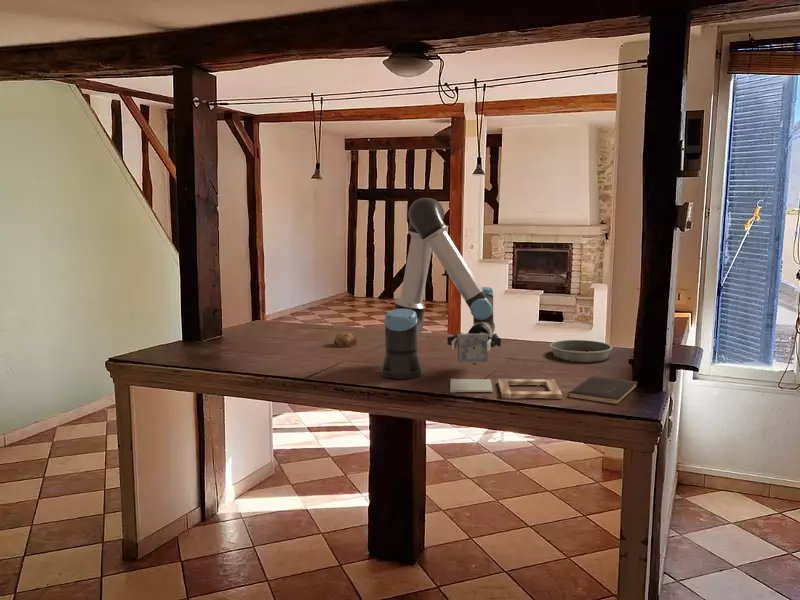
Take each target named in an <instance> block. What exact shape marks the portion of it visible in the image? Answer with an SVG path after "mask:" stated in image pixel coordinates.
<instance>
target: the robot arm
mask: <svg viewBox="0 0 800 600" xmlns="http://www.w3.org/2000/svg"><path fill="white" fill-rule="evenodd" d="M407 217H408V220H409V225H408V231H407V232H408V233H409V234H410V242H409V247H408V254H407V258H406V259H407V260H406V265H405V269H404V277H403V281H402V287H401V291H400V297H399V299H397V300H395V302H394V306H393V307H394V308H393V310H389V311H387V312H386V313H385V315H384V331H385V333H384V336H385V337H384V339H385V341H384V342H385V353H384V359H383V362H382V364H381V369H380V375H381V376H382V377H383V376H384V377H383V378H386V377H387V378H386V379H391V378H394V379H393V380H409V379H417V378H419V377H421V376H422V375H423V366H422V363H421V361H420V357H419V353H418V335H419V334H420V333H421V331H422V329H423V327H424V324H425V323H424V316H425V311H426V306H425V304H424V303H423V300H424V294H425V289H426V286H427V285H426V283H427V277H428V273H429V268H430V262H431V257H432V252H433V253H434V254H435V256H436V257H437V259H438V261H439V262H440V264H441V265H442V267H443V268H444V270H445V272H446V273H447V274H448V276H449V278H450V279H451V281H452V282H453V284H454V285H455V287H456V290H458V292H459V294H460V295H461V297H462V298H463V300H464V301H465V303H466V305H467V307H468V309H469V310H470V313H471V315H472V317H473V320H472V321H473V325H472V327H471V328H470V329H469V330H468V333H466V334H480V333H486V334H487V335H488V342H487V351H488V352H490V351H491V349H492V348H494V347H501V346H502V339H501V337H500V336H499V335H498V334H497V333H494V332H495V331H496V330H495V329H496V325H495V322H494V321H495V320H494V289H493V288H492V287H490V286H489V287H488V286H481V285H480V283H479V282H478V280H477V278H476V277H475V275H474V273H473V271H472V270H471V269H470V267H469V265H468V264H467V262H466V261H465V259H464V257H463V256H462V255H461V252H460V251H459V249H458V248H457V246H456V244H455V243H454V241H453V240H452V239H451V237H450V234H448V232H447V230H446V229H447V225H446V224H445V222H444V219H445V211H444V208H443V205H442V204H441V203H440V202H439V201H438V200H436V199H434V198H432V197H422V198H417V199H416V200H415V201H413V202H412V203H411V205H410V206H409V209H408V216H407ZM457 334H463V332H458V333H456V334H454V335H451V336H449V337H447V345H448V346H451V350H452V351H455V349H457V348H458V341H457Z"/></svg>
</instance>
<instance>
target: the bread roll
mask: <svg viewBox="0 0 800 600" xmlns="http://www.w3.org/2000/svg"><path fill="white" fill-rule="evenodd" d="M333 343H334V347H337V348H351V347H350V346H352V347H354V345H355V346H356V345H357V343H358V342H357V338H356V336H355V335H354V334H353V333H351V332H349V331H341V332H339V333H337V334H336V335H335V336H334V339H333Z"/></svg>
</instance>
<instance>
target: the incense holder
mask: <svg viewBox="0 0 800 600" xmlns="http://www.w3.org/2000/svg"><path fill="white" fill-rule="evenodd" d="M456 334H457V341H458V345H457V359H456V360H457V362H459V363H461V364H462V363H463V364H465V363H466V364H467V363H469V364H470V363H471V364H472V365H473V366H477V363H488V362H489V351H487V342H488V335H487V334H486V333H480V334H467V333H462V334H458V333H456Z"/></svg>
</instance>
